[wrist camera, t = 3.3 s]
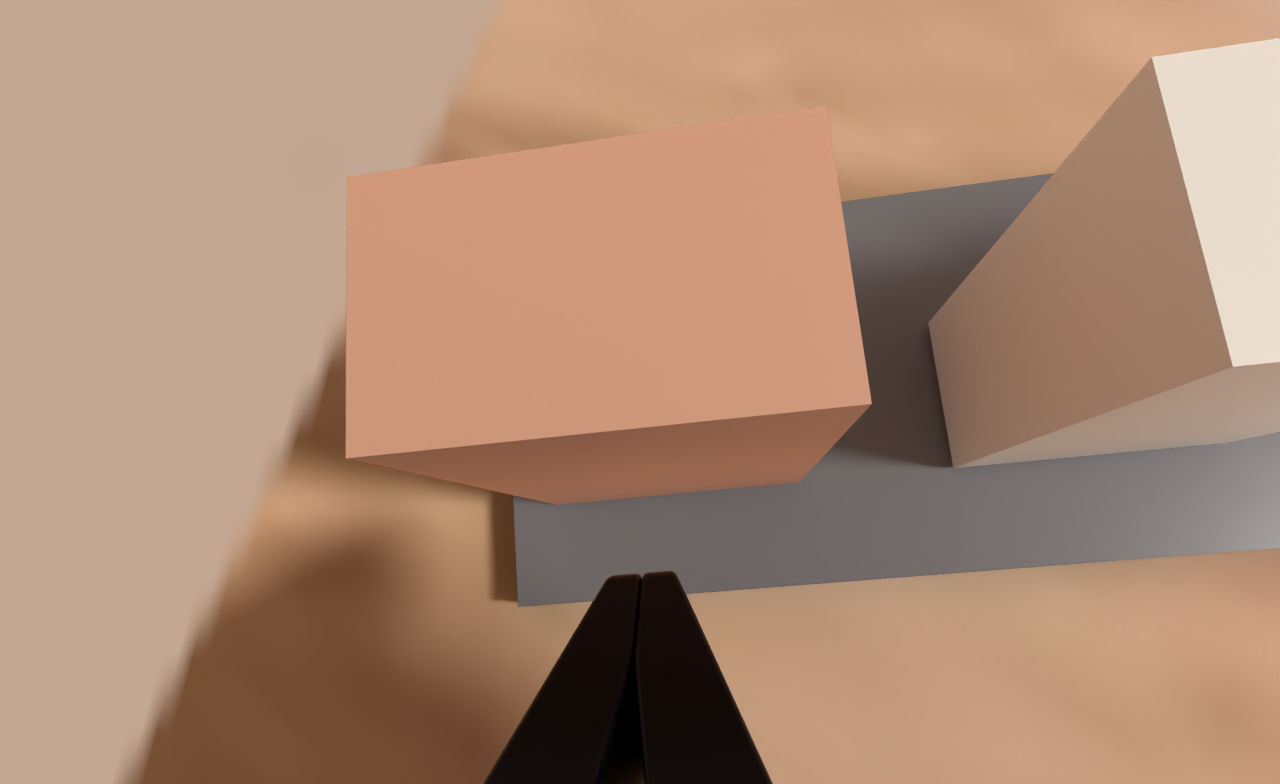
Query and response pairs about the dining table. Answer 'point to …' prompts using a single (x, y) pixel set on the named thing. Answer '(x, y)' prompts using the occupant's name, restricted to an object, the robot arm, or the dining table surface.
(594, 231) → the terracotta key
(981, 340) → the middle key
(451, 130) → the dining table surface
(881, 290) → the keyboard deck
